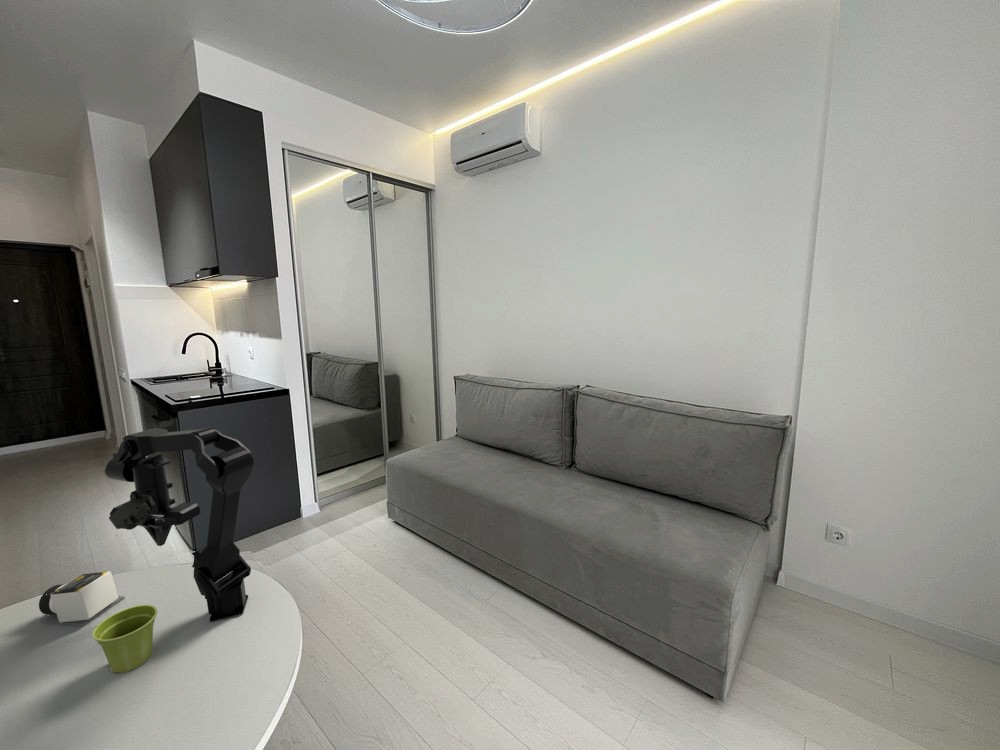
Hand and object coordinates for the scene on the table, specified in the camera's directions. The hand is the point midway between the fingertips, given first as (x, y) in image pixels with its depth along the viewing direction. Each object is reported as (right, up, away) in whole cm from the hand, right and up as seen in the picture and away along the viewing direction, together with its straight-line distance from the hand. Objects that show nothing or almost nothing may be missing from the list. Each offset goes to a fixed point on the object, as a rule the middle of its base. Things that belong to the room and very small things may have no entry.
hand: (161, 545), depth 98 cm
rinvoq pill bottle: (-10, -9, -5) cm, 14 cm away
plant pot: (+8, -16, -17) cm, 25 cm away
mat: (-16, -14, -3) cm, 21 cm away
